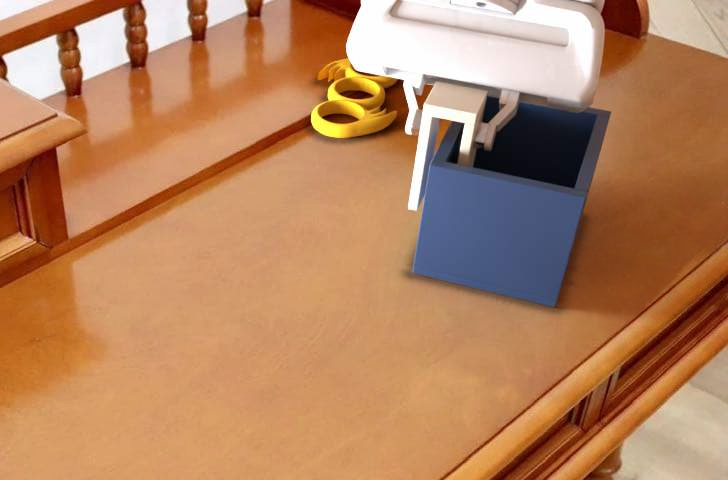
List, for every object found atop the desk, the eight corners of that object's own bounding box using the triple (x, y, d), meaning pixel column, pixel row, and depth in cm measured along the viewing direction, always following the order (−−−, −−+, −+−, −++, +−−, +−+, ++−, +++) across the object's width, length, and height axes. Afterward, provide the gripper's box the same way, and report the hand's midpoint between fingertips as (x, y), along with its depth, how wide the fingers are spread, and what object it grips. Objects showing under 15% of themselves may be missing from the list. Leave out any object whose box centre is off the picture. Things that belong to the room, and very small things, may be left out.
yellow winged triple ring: (423, 75, 119) (335, 58, 122) (424, 61, 118) (336, 45, 121) (378, 150, 108) (283, 129, 111) (380, 136, 107) (284, 116, 110)
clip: (419, 185, 96) (436, 80, 89) (467, 195, 94) (488, 90, 88) (407, 209, 93) (424, 103, 86) (456, 220, 92) (477, 114, 85)
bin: (450, 189, 103) (469, 84, 96) (581, 217, 99) (611, 111, 92) (412, 273, 93) (429, 164, 86) (555, 308, 90) (586, 197, 83)
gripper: (366, -59, 89) (319, 104, 89) (626, -19, 83) (576, 156, 83) (375, -27, 95) (331, 126, 95) (619, 13, 89) (572, 176, 89)
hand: (447, 141), depth 89 cm, fingers closed on clip, 4 cm apart
